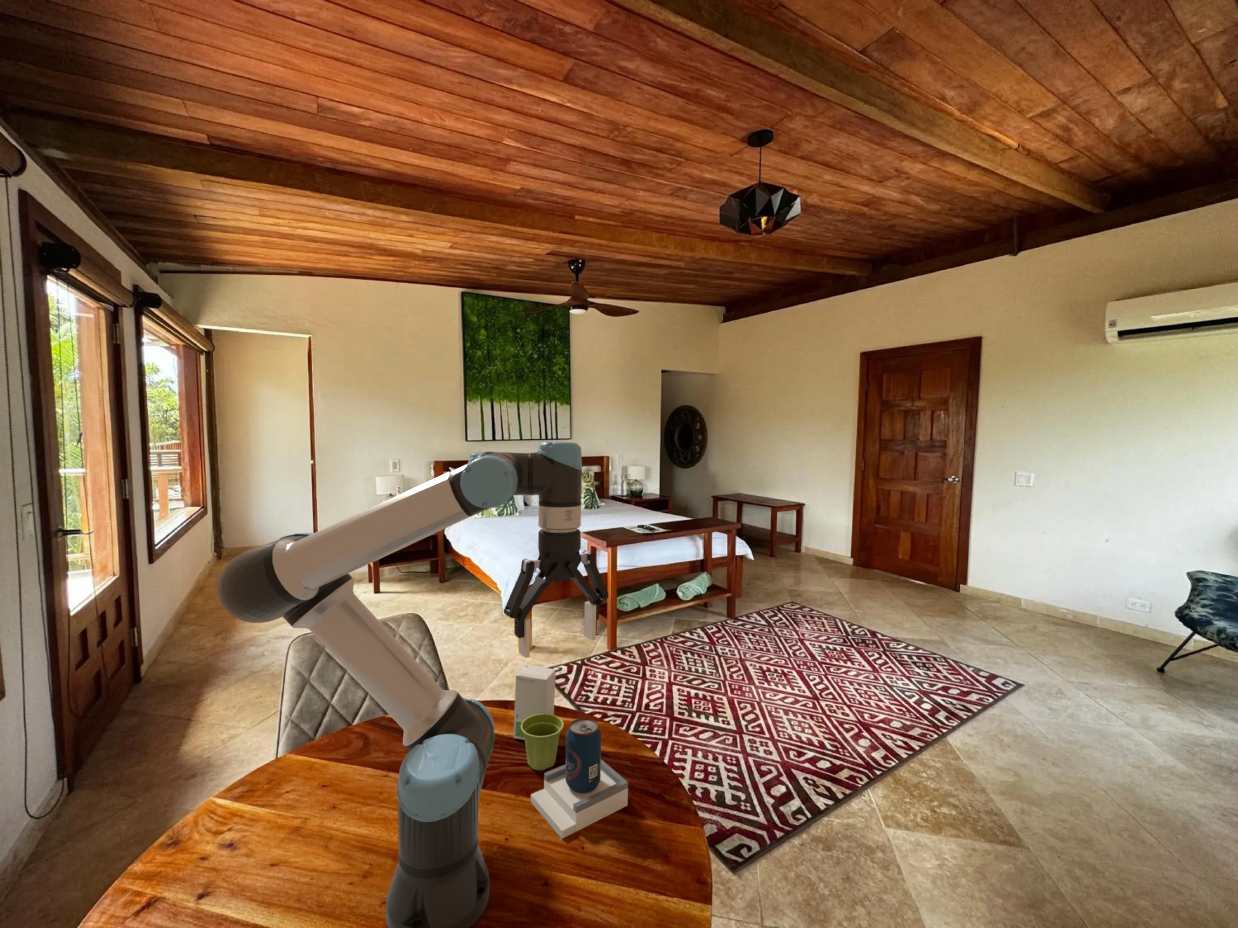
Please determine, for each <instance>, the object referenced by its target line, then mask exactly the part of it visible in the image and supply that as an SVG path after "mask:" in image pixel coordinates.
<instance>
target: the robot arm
mask: <svg viewBox="0 0 1238 928" xmlns="http://www.w3.org/2000/svg"><path fill="white" fill-rule="evenodd" d="M582 458H583V457H582V447H581V446H580V445H579V444H578V443H577V442H570V441H569V442H567V441H566V442H565V441H563V442H562V441H554V442H553V441H543V442H540V444H539V446H538V450H537V452H530V453H529V452H509V451H508V452H507V451H506V452H503V451H502V452H501V451H500V452H499V451H498V452H497V451H484V452H482V451H481V452H474V453H471V455H469V460H467V461H468V462H467V463H466V464H463V465H461V466H459V467H457V468H455V469H453V470H451V471H448V472H445V473H444V474H441V475H440V476H437V477H435V478H432V479H431V480H428V481H426V482H423V483H421V484H420V485H417V486H415V487H413V488H411V489H409V490H406V491H404V492H402V493H400V494H397V495H395V496H393V497H391V498H389V499H387V500H384V501H381V502H380V503H378V504H375V505H373V506H370V507H368V508H367V509H364V510H363V511H360V512H358V513H355V514H353V515H352V516H349V517H347V518H344V519H342V520H340V521H338V522H336V523H334V524H331V525H330V526H328V527H325V528H323V529H320V530H318V531H316V532H302V533H301V532H300V533H292V534H288V535H285V536H282V537H280V538H279V539H276V540H274V541H271V542H268V543H266V544H262V545H260V546H256V547H254V548H251V549H248V550H246V551H244V552H242V553H240V554H239V555H237V556H235V557H234V558H232V559H231V560H230V561H229V562H228V563H227V564H226V565H225V567H224V568H223V570H222V572H221V573H220V576H219V578H218V582H217V597H218V599H219V603H220V604H221V606H222V608H223V609H224V610H225V611H226V612H227V614H229V615H230V616H232V618H235V619H237V620H240V621H241V622H246V623H251V624H263V623H271V622H273V621H276V620H278V619H280V618H283V619H284V620H285V621H286V622H287V623H288V624H289V625H290V627H292V629H307V630H309V631H310V632H311V633H312V634H313V635H314V636H315V637H316V638H317V639H318V641H320V642H321V643H322V645H323V646H324V647H325V648H326V649H327V650H328V651H329V652H330V653H331V654H332V655H333V656H334V658H336V660H337V661H338V662H339V663H340V664H341V665H342V666H343V667H344V668H345V669H346V670H347V671H348V673H350V674H351V675H352V676H353V678H355V680H356V681H357V682H358V683H359V684H360V685H361V686H362V688H364V690H366V692H368V694H370V696H371V697H372V698H373V699H374V700H375V701H376V702H377V703H378V704H379V706H381V707H382V709H383V710H384V711H385V712H386V713H387V714H388V715H389V716H390V717H391V718H392V719H393V720H394V721H395V722H396V723H397V725H399V727H400V728H401V729H402V730H403V735H402V736H403V738H402V745H403V746H404V747H405V748H406V749H407V750H408V753H406V755H405V757H404V758H403V760H402V763H401V765H400V768H399V771H398V772H399V773H398V779H397V783H396V785H397V786H396V787H397V790H396V795H397V805H398V806H397V811H398V812H397V815H398V816H397V817H398V822H397V823H398V826H397V827H398V828H397V829H398V836H397V837H398V862H397V865H396V868H395V871H394V874H393V877H392V880H391V883H390V886H389V889H388V892H387V896H386V902H385V922H386V926H388V927H387V928H470V927H471V928H472V927H473V926H474V925H475V924H476V923H477V922H478V920H479V919H480V918H481V916H482V915H483V913H484V912H485V910H486V908H487V905H488V903H489V898H490V873H489V869H488V867H487V864H486V861H485V858H484V855H483V853H482V850H481V847H480V846H479V805H480V804H479V803H480V796H481V792H482V788H483V787H482V786H483V784H484V783H483V782H484V779H485V776H486V771H487V768H488V764H489V760H490V757H491V755H492V752H493V750H494V745H495V734H496V733H495V731H496V730H495V727H496V726H495V722H494V719H493V716H492V714H491V712H490V711H489V709H488V708H487V707H486V706H485V705H484V704H483V703H481V702H480V701H479V700H477V699H474V698H470V699H469V698H466V697H463V696H462V695H461V694H460V693H459V692H458V691H457V690H456V689H449V690H447V689H443V688H442V687H441V686H440V685H439V684H438V683H437V682H436V681H435V680H434V679H433V677H432V676H431V675H430V674H428V672H427V671H426V670H425V669H424V668H423V667H422V666H421V665H420V663H419V662H418V661H417V660H416V659H415V658H414V657H413V656H412V655H411V654H410V653H409V652H408V650H406V648H405V647H404V646H403V645H402V644H401V643H400V642H399V640H397V639H396V637H394V635H393V634H392V633H391V632H390V631H389V630H388V629H387V628H386V627H385V626H384V625H383V624H382V623H381V621H380V620H379V619H378V618H377V617H376V616H375V615H374V614H373V613H372V612H371V611H370V609H369V608H368V607H367V606H366V605H365V604H364V603H363V602H362V601H361V599H359V597H358V596H356V594H355V592H354V587H355V586H354V585H355V579H354V578H353V577H352V575H351V574H350V573H353V572H355V571H356V570H359V569H361V568H363V567H366V566H367V565H369V564H371V563H374V562H376V561H379V560H380V559H383V558H384V557H387V556H389V555H391V554H394V553H395V552H397V551H400V550H402V549H404V548H407V547H408V546H411V545H413V544H415V543H417V542H419V541H421V540H423V539H426V538H427V537H430V536H432V535H434V534H436V533H438V532H441V531H443V530H445V529H447V528H450V527H451V526H453V525H456V524H458V523H460V522H462V521H464V520H466V519H468V518H471V517H473V516H475V515H478V514H480V513H482V512H485V511H487V510H489V509H492V508H493V509H494V508H497V507H500V506H502V505H503V504H505V503H507V502H509V500H510V499H511V498H512V497H514V496H538V525H537V526H538V527H539V528H540V530H539V531H538V533H537V534H538V537H537V538H538V539H537V541H538V542H537V546H538V547H537V548H538V549H537V550H538V558H537V559H528V558H523V559H522V561H521V565H520V573H519V575H518V577H517V579H516V581H515V583H514V586H513V588H512V591H511V593H510V595H509V597H508V599H507V602H506V605H505V607H504V608H503V614H504V615H506V616H507V617H509V618H510V619H514V629H513V631H514V632H513V633H514V634H513V635H514V637H516V638H517V639H518V653H519V654H520V655H521V656H522V657H524V658H525V659H526V658H531V618H529V617H528V615H529V614H530V612H531V610H533V608H534V606H535V605H536V603H537V601H538V600H539V599H540V598H541V596H542V594H543V593H544V591H545V590H546V588H548V587H550V585H551V583H554V584H556V583H560V582H561V581H564V582H567V581H570V580H572V582H574V584H575V585H576V586H577V588H578V589H579V590H580V591H581V592H582V593H583V595H584V596H585V597H586V598H587V599H588V601H584V620H583V621H584V626H583V628H584V635H583V636H584V637H585V638H587V639H589V640H590V641H596V640H597V638H596V635H597V629H596V628H597V624H596V623H597V621H598V620H599V618H600V606H602V605H603V603H604V599H605V600H607V599H609V592H608V589H607V587H606V585H605V583H604V581H603V578H602V576H601V573H600V572H599V569H598V566H597V564H596V555H595V553H594V552H592V551H589V550H585V549H584V550H583V551H582V552H580V550H581V547H582V545H581V542H582V531H581V530H580V529H579V528H580V527H581V526H582V486H583V485H582V484H583V483H582V480H583V461H582ZM581 563H582V564H583V568H584V570H585V572H586V574H587V576H588V578H589V581H590V584H591V585H592V587H591V585H590V584H589V583H588V581H587V580H586V579H585V577H584V575H583V574H582V572H581V571H580V570H579V569H578V568H579V565H580V564H581ZM537 569H539V571H538V573H537V574H536V576H535V577H534V581H533V583H532V579H533V576H534V573H536V572H537ZM531 583H532V584H531ZM530 584H531V586H530Z"/></svg>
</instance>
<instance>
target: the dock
mask: <svg viewBox="0 0 1238 928" xmlns="http://www.w3.org/2000/svg"><path fill="white" fill-rule="evenodd" d="M565 776H566V763H565V764H563V765H561V766H558V767H556V768H554V769H551V770H548V771H546V772H544V774H543V789H540V790H538V791H535V792H533V793H531V794H530V803H531V804H532V805H533V807H535V810H537V811H538V812H539V814H540V815H541V817H543V819H544V820H545V821H546V822H547V823H548V824H549V825H550V827H551V828H552V829H553V830H554V831H555V833H556V834H557V835H558V837H559V838H560V839H562V840H563V839H565V838H566V837H569V836H570V835H573V834H575V833H577V832H578V831H580V830H583V829H584V828H586V827H588V826H590V825H592V824H594V823H597V822H598V821H600V820H601V819H603V818H605V817H608V816H610V815H612V814H613V813H616V812H618V811H619V810H621V809H623V808H625V807H627V806H628V802H629V801H628V799H629V795H628V793H629V782H628V781H627V780H626V779H625V778H623V776H621V774H619V773H618V772H617V771H616V770H614V769H613V768H612V767H611V766H610V765H609V764H608V763H606V762H605V761H604V760H603V759H602V758H601V778H600V782H599V784H598V785H597V787H596V788H595V790H593V791H592V792H590V793H587V794H578V793H575V792H573V791H572V790H571V789H570V788H569V786H568V785H567V783H566V779H565Z"/></svg>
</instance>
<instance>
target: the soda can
mask: <svg viewBox="0 0 1238 928" xmlns="http://www.w3.org/2000/svg"><path fill="white" fill-rule="evenodd" d="M601 759H602V732H601V730H600V727H599V723H598V722H597V721H596V720H594V719H592V718H588V717H587V718H586V717H581V718H577V719H574V720H572V721H571V722H570V723H569V725H568V729H567V731H566V733H565V764H566V776H565V779H566V783H567V785H568V786H569V788H570V789H571V790H572V791H573V792H575V793H578V794H587V793H590V792H592V791H593V790H595V788H596V787H597V785H598V784H599V782H600V778H601Z"/></svg>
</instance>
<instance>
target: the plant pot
mask: <svg viewBox="0 0 1238 928" xmlns="http://www.w3.org/2000/svg"><path fill="white" fill-rule="evenodd" d="M564 724H565V723H564V720H563V719H562V718H561V717H559V716H558V715H555V714H554V715H553V714H546V713H542V714H536V715H532V716H530V717H528V718H526V719H525V720H524V721H523V722H522V724H521V730H522V732H523V735H524V737H525V740H524V742H525V743H524V745H525V753H526V760H527V764H528V766H529V767H530V768H531V769H532V770H537V771H544V770H546V769H549V768H552V767H553V766H554V765H555V763H556V758H557V754H558V753H557V752H558V746H559V739H560V736H561V733H562V731H563V729H564Z"/></svg>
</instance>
